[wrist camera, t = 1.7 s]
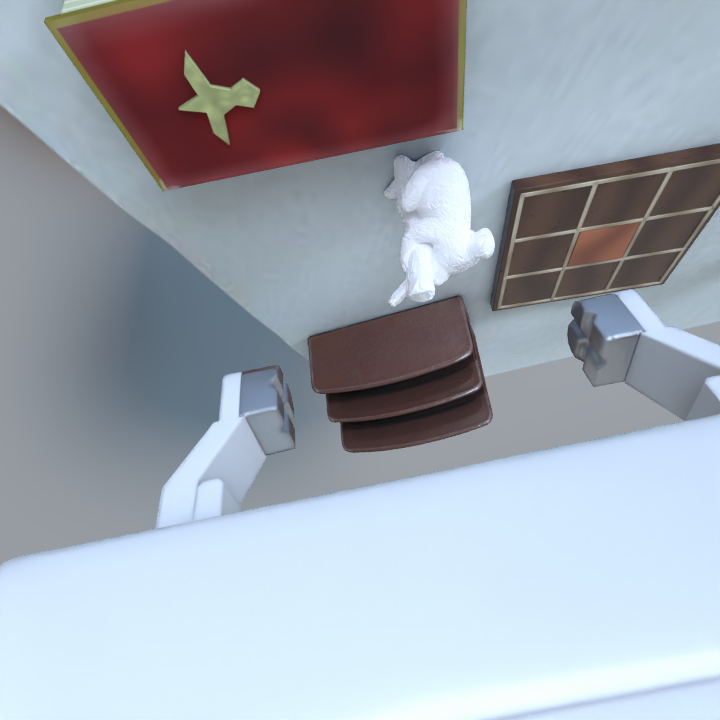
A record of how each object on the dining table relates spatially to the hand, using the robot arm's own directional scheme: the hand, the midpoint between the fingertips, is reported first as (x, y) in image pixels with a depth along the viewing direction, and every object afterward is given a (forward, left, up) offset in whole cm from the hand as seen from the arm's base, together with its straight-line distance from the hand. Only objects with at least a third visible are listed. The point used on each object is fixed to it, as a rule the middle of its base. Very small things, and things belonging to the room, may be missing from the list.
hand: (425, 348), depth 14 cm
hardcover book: (+5, +6, -25) cm, 27 cm away
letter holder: (+1, +45, -25) cm, 52 cm away
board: (-21, +31, -25) cm, 45 cm away
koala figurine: (-3, +18, -25) cm, 31 cm away
